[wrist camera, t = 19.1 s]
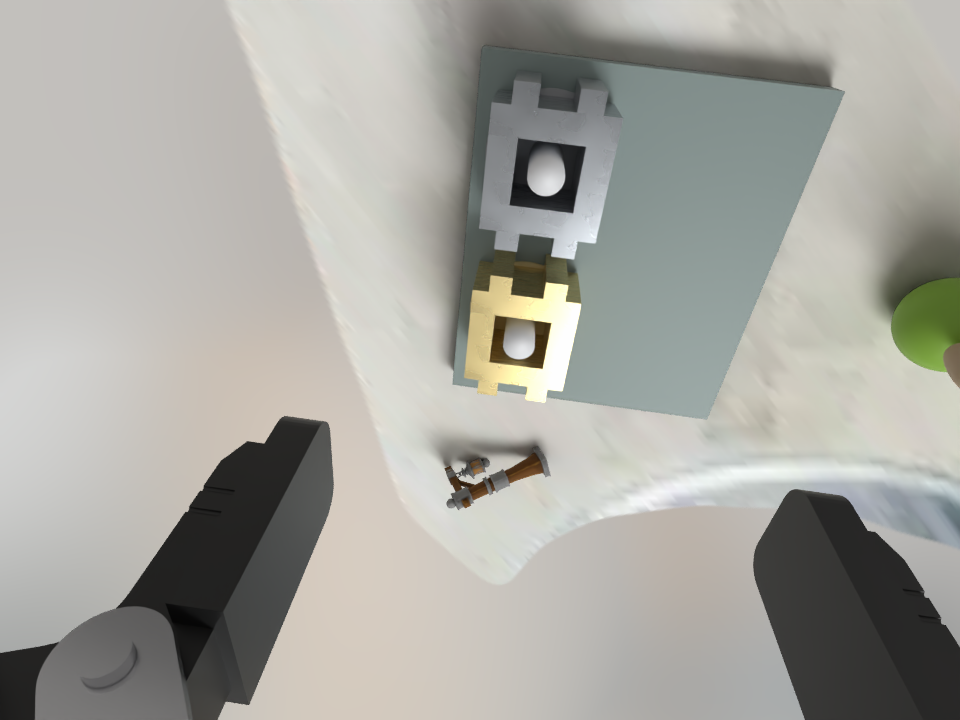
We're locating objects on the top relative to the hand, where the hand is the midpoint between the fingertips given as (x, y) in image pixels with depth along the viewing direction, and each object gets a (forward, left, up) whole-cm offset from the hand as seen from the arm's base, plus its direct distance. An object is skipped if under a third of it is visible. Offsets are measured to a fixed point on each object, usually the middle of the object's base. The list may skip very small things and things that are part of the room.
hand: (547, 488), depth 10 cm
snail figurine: (-24, +6, -26) cm, 36 cm away
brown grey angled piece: (0, +25, -26) cm, 36 cm away
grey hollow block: (0, 0, -24) cm, 24 cm away
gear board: (-5, +6, -26) cm, 27 cm away
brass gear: (0, +10, -24) cm, 26 cm away
